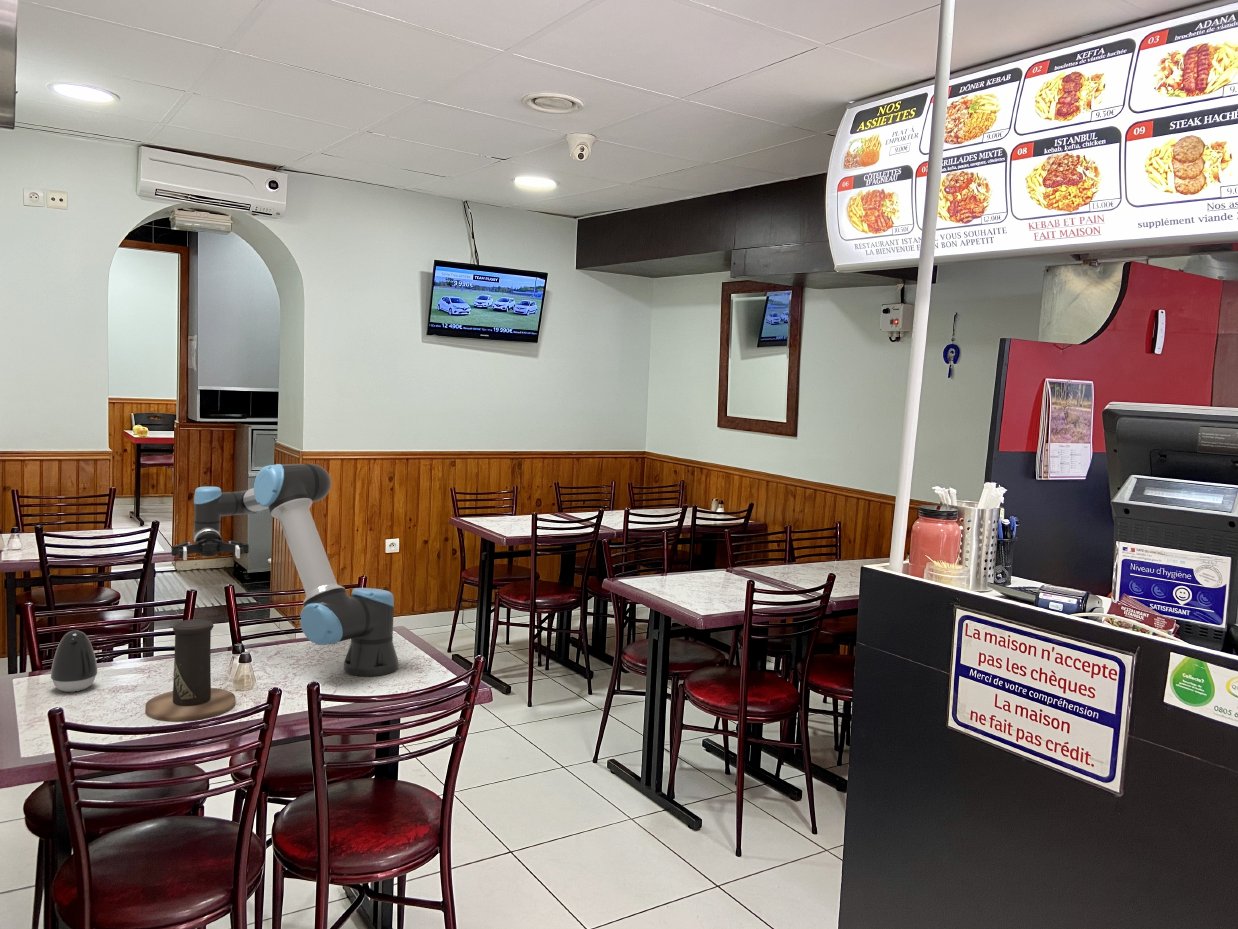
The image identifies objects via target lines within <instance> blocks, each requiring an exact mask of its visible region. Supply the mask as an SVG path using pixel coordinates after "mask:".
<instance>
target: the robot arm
mask: <svg viewBox="0 0 1238 929" xmlns="http://www.w3.org/2000/svg"><path fill="white" fill-rule="evenodd" d="M331 487H332V478H331V476H330V474H329V473H328V471H327V470H326V469H325V468H324V467H322V466H320V465H318V464H315V463H310V462H309V463H290V464H289V463H288V464H286V463H285V464H283V463H282V464H280V463H276V464H270V465H265V466H263V467H262V468H261V469H260V470H259V471H258V473H257V475H256V477H255V480H254V484H253V488H249V489H245V490H240V491H225V492H224V491H222V489H221V488H220V487H218V486H200V487H196V489H195V491H194V496H193V508H194V509H193V510H194V512H193V513H194V515H193V516H194V519H193V533H192V535H193V536H192V540H193V542H194V543H190V541H187V540H186V541H183V542H182V543H179V544H176V545H173V546H171V555H170V556H172V557H175V556H177V555H178V556H177V557H178V559H183V561H187V560H188V559H187V558H188V555H191V554H199V555H201V556H203V557H209V558H210V557H215V555H217V554H223V553H229V554H235V557H236V559H241V555H243V554H246V555H247V554H249V552H250V547H249V546H250V544H247V543H243V542H239V541H236V540H233V539H231V540H229V541H228V542H226V541H225V540H223V539H222V536H221V522H222V521H221V520H222V517H229V516H237V515H238V516H240V515H255V514H260V513H262V512H263V511H264V510H268V509H269V510H268V511H269V513H270V516H271V517H272V518H275V519H277V520H279V524H280V526H281V530H282V532H283V535H284V537H285V540H286V543H287V546H288V549H289V551H290V554H291V557H292V560H293V562H294V565H295V568H296V570H297V573H298V576H299V579H300V581H301V585H302V588H303V591H304V593H305V598H304V600H303V602H302V603H303V608H302V610H301V611H300V613H299V614H300V616H299V617H300V618H301V619H299V624H300V628H301V631H302V632H303V635H304V636H305V638H306V639H307V640H309V641H310V642H311V643H312V644H313V643H314V644H315V645H317V646H326V645H335V644H337V643H340V642H344V641H349V640H350V644H349V646H348V650H347V652H346V655H345V658H344V660H343V671H344V672H345V673H347V674H350V675H352V676H358V677H359V676H360V677H377V676H385V675H389V674H392V673H394V672H396V671H397V670H398V669H399V658H398V656H397V652H396V649H395V645H394V642H393V641H394V640H393V637H394V636H393V634H394V618H395V617H394V613H395V604H394V602H395V601H394V600H395V599H394V594H393V593H392V592H391V591H389V590H385V589H380V588H373V587H372V588H370V587H356V588H354V589H353V590H351V596H349V595H348V593H347V590H346V588H345V587H344V586H342V585H340V584H338V582H337V580H336V577H335V575H334V571H333V569H332V567H331V564H330V561H329V558H328V555H327V553H326V550H325V547H324V545H323V542H322V540H321V537H320V534H319V532H318V529H317V526H316V524H315V521H314V518H313V516H312V513H311V510H310V508H311V506H312V505H313V503H316V502H319V501H322V500H324V498H325V497H326V496H327V495H328V494H329V493H330V491H331Z"/></svg>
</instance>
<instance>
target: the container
mask: <svg viewBox="0 0 1238 929" xmlns="http://www.w3.org/2000/svg"><path fill="white" fill-rule="evenodd" d="M214 627H215V626H214V623H213V622H212V621H210V620H209V619H208V620H207V619H204V618H203V619H202V618H201V619H197V618H196V619H195V618H194V619H185V620H181V621H178V622H176V623H175V624H174V625H173V627H172V631H173V632H174V655H173V656H174V658H173V679H172V682H173V683H172V684H173V685H172V691H173V703H175V704H177V705H183V706H191V705H199V704H203V703H206V702H208V701H209V700H210V699H211V688H212V682H211V681H212V680H211V676H212V675H211V673H212V672H211V671H212V670H211V660H212V659H211V647H212V646H211V644H212V643H211V640H212V639H211V637H212V635H211V634H212V630H213V628H214Z"/></svg>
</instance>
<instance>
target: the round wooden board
mask: <svg viewBox="0 0 1238 929" xmlns="http://www.w3.org/2000/svg"><path fill="white" fill-rule="evenodd" d="M235 706H236V694H234V693H233V692H232V691H230V690H227V689H223V688H215V687H211V699H210V700H209V701H208V702H206V703H203V704H199V705H191V706H183V705H177V704H175V703H173V690H172V691H171V690H170V691H167V692H163V693H161V694H158V695H156V696H154V697H152V698H150V699H148V700H147V701H146V703H145V709H144V710H145V712H144V713H145V715H146V716H147V717H149V718H150V719H151V718H152V719H153V720H157V721H164V722H191V721H192V722H193V721H199V720H205V719H210V718H213V717H217V716H221V715H223V714H224V713H227V712H229V711H231V710H232V709H233V708H234V707H235Z"/></svg>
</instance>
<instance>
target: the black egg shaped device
mask: <svg viewBox="0 0 1238 929" xmlns="http://www.w3.org/2000/svg"><path fill="white" fill-rule="evenodd" d="M97 674H98V664H97V658H96V655H95V651H94V648H93V645H92V643H91V641H90V638H89V637H88V636H87V634H86V633H85V632H83V631H81V630H77V629H76V630H70V631H68V632H66V633H65V634H64V635H63V637H62V638H61V640H60V642H59V643H58V646H57V647H56V651H55V654H54V656H53V661H52V665H51V670H50V679H51V680H52V682H53V685H54V686H55V687H56V689H57V690H59V691H61V692H63V693H64V692H65V693H76V692H75V691H77V692H80V690H81V691H84V690H86V689H87V688H89V687H90V686H92V684H93V683H94V681H95V679H96V677H97Z"/></svg>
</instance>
